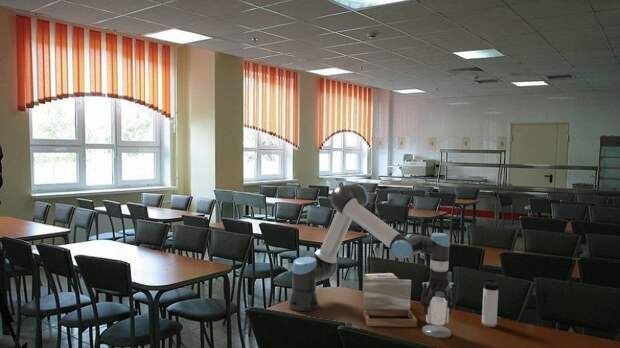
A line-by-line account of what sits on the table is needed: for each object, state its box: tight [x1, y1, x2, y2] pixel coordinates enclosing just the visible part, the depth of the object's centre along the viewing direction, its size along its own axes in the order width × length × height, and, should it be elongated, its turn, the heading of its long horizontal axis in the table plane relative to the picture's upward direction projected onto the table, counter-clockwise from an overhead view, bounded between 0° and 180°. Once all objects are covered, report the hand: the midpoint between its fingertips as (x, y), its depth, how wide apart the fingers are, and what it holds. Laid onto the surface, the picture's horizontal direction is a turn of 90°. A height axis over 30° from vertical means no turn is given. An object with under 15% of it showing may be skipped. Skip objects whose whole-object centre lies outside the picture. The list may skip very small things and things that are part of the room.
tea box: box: [364, 272, 399, 280], centre depth 235 cm, size 15×10×15 cm
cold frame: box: [362, 278, 418, 328], centre depth 213 cm, size 15×22×17 cm
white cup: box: [429, 296, 448, 326], centre depth 200 cm, size 8×8×10 cm
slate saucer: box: [421, 324, 452, 339], centre depth 201 cm, size 12×12×1 cm
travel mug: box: [481, 278, 499, 328], centre depth 211 cm, size 6×7×20 cm
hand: (437, 321), depth 200 cm, fingers closed on white cup, 7 cm apart
